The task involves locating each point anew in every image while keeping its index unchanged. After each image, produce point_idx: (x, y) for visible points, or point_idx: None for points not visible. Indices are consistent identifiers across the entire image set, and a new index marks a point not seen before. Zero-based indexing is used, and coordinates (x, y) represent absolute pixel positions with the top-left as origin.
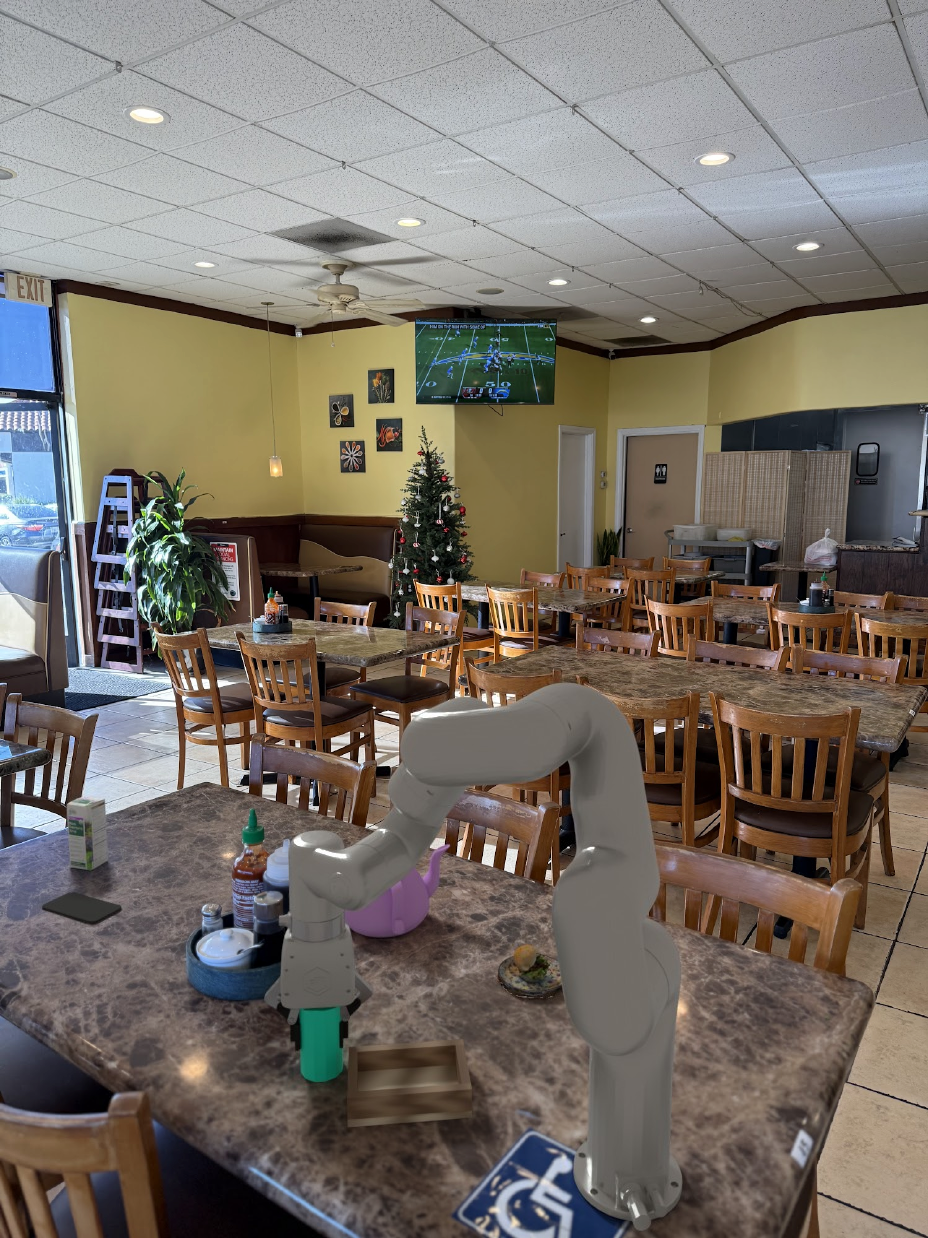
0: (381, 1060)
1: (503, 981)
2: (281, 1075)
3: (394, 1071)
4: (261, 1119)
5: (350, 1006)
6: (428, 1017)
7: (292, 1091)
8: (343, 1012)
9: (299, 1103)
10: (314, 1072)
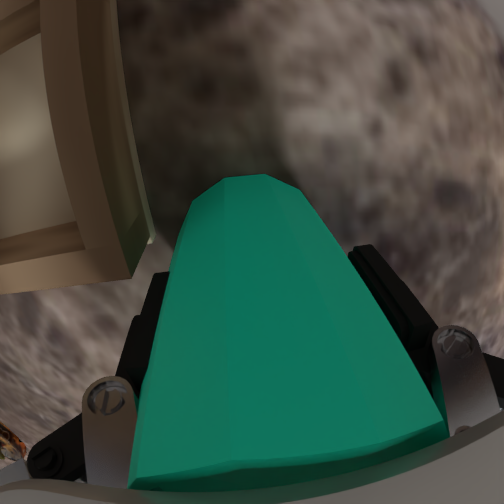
0: (32, 243)
1: (3, 432)
2: (375, 207)
3: (16, 224)
4: (402, 19)
5: (80, 459)
6: (55, 397)
7: (334, 129)
8: (111, 430)
9: (301, 69)
10: (270, 185)
